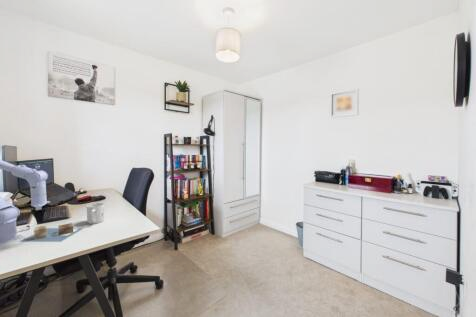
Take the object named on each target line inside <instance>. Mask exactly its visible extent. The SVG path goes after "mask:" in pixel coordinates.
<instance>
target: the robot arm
mask: <svg viewBox="0 0 476 317" xmlns="http://www.w3.org/2000/svg"><path fill="white" fill-rule="evenodd" d="M0 170H4V171H6V172H9V173H10V172H11V175H12V176H14V177H17V178H21V179H24V180H26V181H27V183H28V184H29V189H30V206H31V207H32V208H33V209H31V210H30V212H31V213H32V215H33V216H34V218H35V221H36V224H40V223H43V221H44V219H45V218H44V217H45V213H46V212H47V209H48V208H47V206H48V204H51V201H50V200H47V183H46V181H47V180H48V178H49V174H48V173H47V172H46V171H45V170H43V169H41V170H37V169H36V168H31V167H28V166H27V165H25V164H18V165H15V164H13V163H10V162H8V161H5V160H2V159H0ZM20 214H21V211H20V209H19V208H18V207H16V206H15V205H14V204H13V203H11V202H6V201H5V199H4V198H3V196H1V195H0V244H5V243H9V242H11V241H13V240H15V239H17V238H19V237H22V236H23V235H22V234H18V233H17V220H18V217H19V216H20Z"/></svg>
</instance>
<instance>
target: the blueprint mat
mask: <svg viewBox="0 0 476 317" xmlns="http://www.w3.org/2000/svg"><path fill="white" fill-rule="evenodd" d="M83 229H84V227H83V228H82V227H80V228H79V227H78V228H74V227H73V233H68V234H64V235H59V227H56V228H55V227H53V228H52V227H51V228H50V227H47V237H46V238H41V239H36V240H35V239H34V234H32V235H30V236H28V237H26V238H24V239H22V240H20V241H19V242H23V243H24V242H25V243H26V242H28V243H29V242H30V243H34V242H37V243H38V242H40V243H41V242H45V243H46V242H47V243H49V242H50V243H51V242H52V243H55V242H57V243H59V242H60V243H61V242H63V241H65V240H66V239H68V238H70V237H71V236H73V235H75V234H78V233H79V232H80V231H82V230H83Z"/></svg>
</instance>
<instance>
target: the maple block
mask: <svg viewBox="0 0 476 317" xmlns="http://www.w3.org/2000/svg"><path fill="white" fill-rule="evenodd" d="M47 228H48V226H47V224H46V225H41V226H35V227H34V228H33V229H34V230H33V235H34V239H35V240H36V239H41V238H46V237H47Z"/></svg>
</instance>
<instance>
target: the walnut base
mask: <svg viewBox="0 0 476 317" xmlns="http://www.w3.org/2000/svg"><path fill="white" fill-rule="evenodd" d="M57 228H59V235H64V234H68V233H73V228H74V225H73V222H71V223H65V224H59V225H58V227H57Z"/></svg>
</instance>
